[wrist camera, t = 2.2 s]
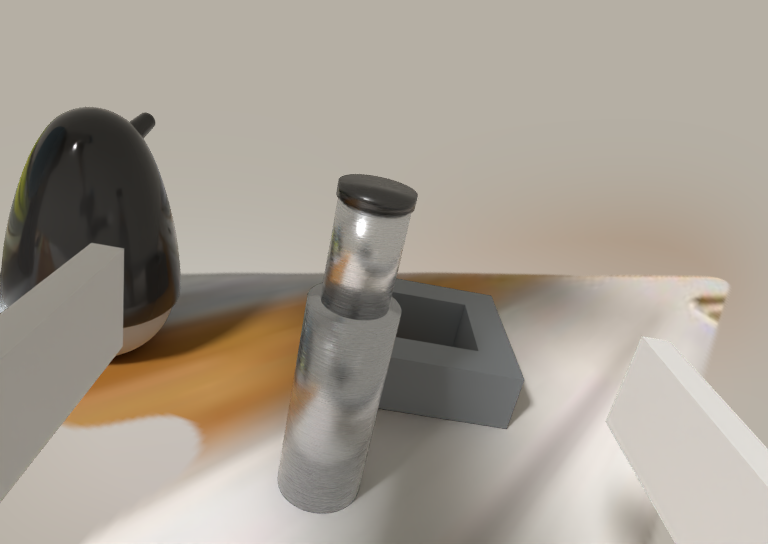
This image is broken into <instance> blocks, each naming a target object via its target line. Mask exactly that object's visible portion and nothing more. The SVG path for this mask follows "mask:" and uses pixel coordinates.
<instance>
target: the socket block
mask: <svg viewBox="0 0 768 544" xmlns="http://www.w3.org/2000/svg"><path fill="white" fill-rule="evenodd" d="M392 297H393V298H394V299H395V300H396V301H397V302H398V303H399V305H400V307H401V317H400V321H399V325H398V329H397V333H396V337H395V341H394V346H393V350H392V354H391V358H390V362H389V366H388V370H387V374H386V378H385V383H384V387H383V391H382V395H381V399H380V403H379V407H378V408H379V409H386V410H392V411H398V412H404V413H411V414H417V415H423V416H429V417H436V418H442V419H448V420H454V421H461V422H467V423H473V424H479V425H486V426H492V427H498V428H504V429H507V426H508V424H509V421H510V418H511V415H512V413H513V410H514V407H515V404H516V402H517V399H518V396H519V393H520V390H521V388H522V385H523V382H524V378H523V375H522V373H521V370H520V368H519V365H518V363H517V360H516V357H515V355H514V352H513V350H512V347H511V345H510V342H509V340H508V337H507V335H506V332H505V329H504V327H503V324H502V322H501V319H500V317H499V314H498V312H497V309H496V307H495V304H494V302H493V299H492V296H490V295H485V294H479V293H473V292H468V291H462V290H457V289H451V288H446V287H440V286H435V285H429V284H424V283H418V282H413V281H407V280H402V279H396V281H395V285H394V290H393V294H392Z"/></svg>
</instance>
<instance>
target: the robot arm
mask: <svg viewBox="0 0 768 544" xmlns="http://www.w3.org/2000/svg"><path fill="white" fill-rule="evenodd" d="M123 292H124V248H119V247H113V246H107V245H101V244H95V243H90V244H89V245H88V246H87V247H85V248H84V249H83V250H81V251H80V252H79V253H78V254H76V255H75V256H74V257H72V258H71V259H70V260H69V261H67V262H66V263H65V264H63V265H62V266H61V267H60V268H58V269H57V270H56V271H54V272H53V273H52V274H51V275H49V276H48V277H47V278H45V279H44V280H43V281H41V282H40V283H39V284H38V285H36V286H35V287H34V288H32V289H31V290H30V291H29V292H27V293H26V294H25V295H23V296H22V297H21V298H20V299H18V300H17V301H16V302H14V303H13V304H12V305H11V306H9V307H8V308H7V309H5V310H4V311H3V312H2V313H0V502H1V501H2V500H3V499H4V497H5V496H6V495H7V493H8V492H9V491H10V490H11V488H12V487H13V486H14V485H15V483H16V482H17V481H18V479H19V478H20V477H21V476H22V474H23V473H24V472H25V471H26V469H27V468H28V467H29V465H30V464H31V463H32V461H33V460H34V459H35V458H36V456H37V455H38V454H39V453H40V451H41V450H42V449H43V448H44V446H45V445H46V444H47V442H48V441H49V440H50V438H51V437H52V436H53V434H54V433H55V432H56V431H57V430H58V428H59V427H60V426H61V425H62V423H63V422H64V421H65V419H66V418H67V417H68V416H69V414H70V413H71V412H72V411H73V409H74V408H75V407H76V405H77V404H78V403H79V402H80V400H81V399H82V398H83V396H84V395H85V394H86V393H87V391H88V390H89V389H90V388H91V386H92V385H93V384H94V382H95V381H96V380H97V379H98V377H99V376H100V375H101V373H102V372H103V371H104V370H105V368H106V367H107V366H108V365H109V363H110V362H111V361H112V359H113V358H114V357H115V356H116V354H117V353H118V352H119V350H120V349H121V348H122V347H123ZM606 423H607V425H608V427H609V428H610V430H611V432H612V434H613V435H614V437H615V439H616V441H617V442H618V444H619V446H620V448H621V450H622V451H623V453H624V455H625V457H626V458H627V460H628V462H629V464H630V465H631V467H632V469H633V471H634V472H635V474H636V476H637V478H638V479H639V481H640V483H641V485H642V487H643V488H644V490H645V492H646V494H647V495H648V497H649V499H650V501H651V502H652V504H653V506H654V508H655V509H656V511H657V513H658V515H659V516H660V518H661V520H662V522H663V524H664V525H665V527H666V529H667V531H668V532H669V534H670V536H671V538H672V539H673V541H674V543H675V544H768V449H767V448H766V446H765V445H764V444H763V443H762V442H761V441H760V440H759V439H758V438H757V436H755V434H754V433H753V432H752V431H751V430H750V429H749V428H748V427H747V426H746V424H745V423H744V422H743V421H742V420H741V419H740V418H739V417H738V416H737V415H736V413H735V412H734V411H733V410H732V409H731V408H730V407H729V406H728V405H727V403H726V402H725V401H724V400H723V399H722V398H721V397H720V396H719V395H718V394H717V393H716V391H715V390H714V389H713V388H712V387H711V386H710V385H709V384H708V383H707V382H706V380H705V379H704V378H703V377H702V376H701V375H700V374H699V373H698V372H697V371H696V369H695V368H694V367H693V366H692V365H691V364H690V363H689V362H688V361H687V360H686V358H685V357H684V356H683V355H682V354H681V353H680V352H679V351H678V350H677V349H676V347H675V346H674V345H673V344H672V343H671V342H670V341H666V340H661V339H655V338H649V337H643V336H642V337H641V340H640V342H639V344H638V347H637V349H636V351H635V354H634V356H633V358H632V361H631V363H630V365H629V368H628V370H627V372H626V375H625V377H624V380H623V382H622V384H621V387H620V389H619V391H618V394H617V396H616V398H615V401H614V403H613V405H612V408H611V410H610V412H609V415H608V417H607V419H606Z"/></svg>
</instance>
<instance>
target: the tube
mask: <svg viewBox="0 0 768 544" xmlns="http://www.w3.org/2000/svg"><path fill="white" fill-rule="evenodd" d="M336 194H337V197H338V201H337V207H336V212H335V218H334V224H333V230H332V235H331V241H330V246H329V252H328V258H327V264H326V269H325V275H324V281H323V283H320V284H318V285H316V286H314V287H313V288H311V289H310V291H309V292H308V296H307V302H306V308H305V314H304V320H303V326H302V332H301V338H300V344H299V351H298V357H297V363H296V369H295V375H294V381H293V387H292V393H291V399H290V405H289V411H288V417H287V423H286V429H285V435H284V441H283V448H282V454H281V460H280V466H279V472H278V486H279V489H280V491H281V493H282V495H283V496H284V497H285V498H286V499H287V500H288V501H289V502H290V503H291V504H293V505H294V506H296V507H298V508H300V509H302V510H305V511H308V512H313V513H332V512H336V511H339V510H341V509H343V508H345V507H347V506H348V505H349V504H350V503H351V502H352V501H353V500H354V499H355V497H356V495H357V493H358V490H359V486H360V481H361V477H362V473H363V469H364V465H365V461H366V457H367V453H368V448H369V444H370V440H371V436H372V432H373V428H374V424H375V420H376V416H377V411H378V407H379V403H380V399H381V395H382V391H383V387H384V383H385V378H386V374H387V370H388V366H389V362H390V358H391V354H392V350H393V346H394V341H395V337H396V333H397V329H398V325H399V321H400V317H401V307H400V305H399V303H398V302H397V301H396V300H395V299H394V298H393V297H392V294H393V290H394V285H395V281H396V277H397V272H398V268H399V263H400V259H401V255H402V251H403V246H404V242H405V237H406V234H407V229H408V225H409V220H410V216H411V213H412V212H413V211H414V209H415V205H416V201H417V193H416V191H415V190H413V189H412V188H410V187H408V186H406V185H404V184H402V183H399V182H397V181H394V180H390V179H387V178H382V177H378V176H371V175H362V174H350V175H345V176H342V177H340V178H339V181H338V187H337V193H336Z"/></svg>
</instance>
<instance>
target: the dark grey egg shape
mask: <svg viewBox="0 0 768 544" xmlns="http://www.w3.org/2000/svg"><path fill="white" fill-rule="evenodd" d="M154 126H155V120H154V118H153V116H152V115H150V114H148V113H142V114H140V115H139V116H137V117H136V118H134V119H133V120H131V121H130V122H129V121H127V120H126V119H124V118H123V117H121V116H119V115H118V114H116V113H114V112H111V111H109V110H106V109H101V108H94V107H83V108H77V109H73V110H70V111H67V112H65V113H63V114H61V115H59V116H58V117H56V118H55V119H54V120H53V121H52V122H51V123H50V124H49V125H48V126H47V127H46V129H45V130H44V131H43V133H42V134H41V136H40V137H39V138H38V140H37V142H36V143H35V145H34V147H33V149H32V151H31V153H30V155H29V157H28V159H27V162H26V164H25V166H24V169H23V172H22V175H21V177H20V180H19V183H18V186H17V189H16V193H15V196H14V200H13V203H12V207H11V211H10V215H9V219H8V224H7V229H6V235H5V241H4V249H3V258H2V268H1V290H2V297H3V300H4V303H5V304H6V306H7V307H9V306H11V305H12V304H13V303H14V302H16V301H17V300H18V299H20V298H21V297H22V296H23V295H25V294H26V293H27V292H29V291H30V290H31V289H32V288H34V287H35V286H36V285H38V284H39V283H40V282H41V281H43V280H44V279H45V278H47V277H48V276H49V275H51V274H52V273H53V272H54V271H56V270H57V269H58V268H60V267H61V266H62V265H63V264H65V263H66V262H67V261H69V260H70V259H71V258H72V257H74V256H75V255H76V254H78V253H79V252H80V251H81V250H83V249H84V248H85V247H87V246H88V245H89V244H90V243H95V244H101V245H107V246H113V247H119V248H124V292H123V347H122V348H121V349H120V350H119V352H118V353H117V354H116V356H117V355H120V354H124V353H127V352H129V351H132V350H134V349H136V348H138V347H140V346H141V345H143V344H144V343H146V342H147V341H149V340H150V339H151V338H152V337H153V336H154V335H155V334H156V333H157V332H158V331H159V330H160V329H161V327H162V326H163V325H164V323H165V322H166V320H167V318H168V316H169V314H170V311H171V309H172V307H173V305H174V304H175V303H176V301H177V300H178V297H179V294H180V263H179V253H178V246H177V238H176V232H175V227H174V221H173V217H172V213H171V209H170V205H169V201H168V197H167V194H166V191H165V187H164V184H163V181H162V178H161V175H160V172H159V169H158V167H157V164H156V162H155V160H154V158H153V155H152V153H151V151H150V149H149V148H148V146H147V144H146V142H145V141H144V137H145V136H146V135H147V134H148V133H149V132H150V131H151V129H152V128H153V127H154Z"/></svg>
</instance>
